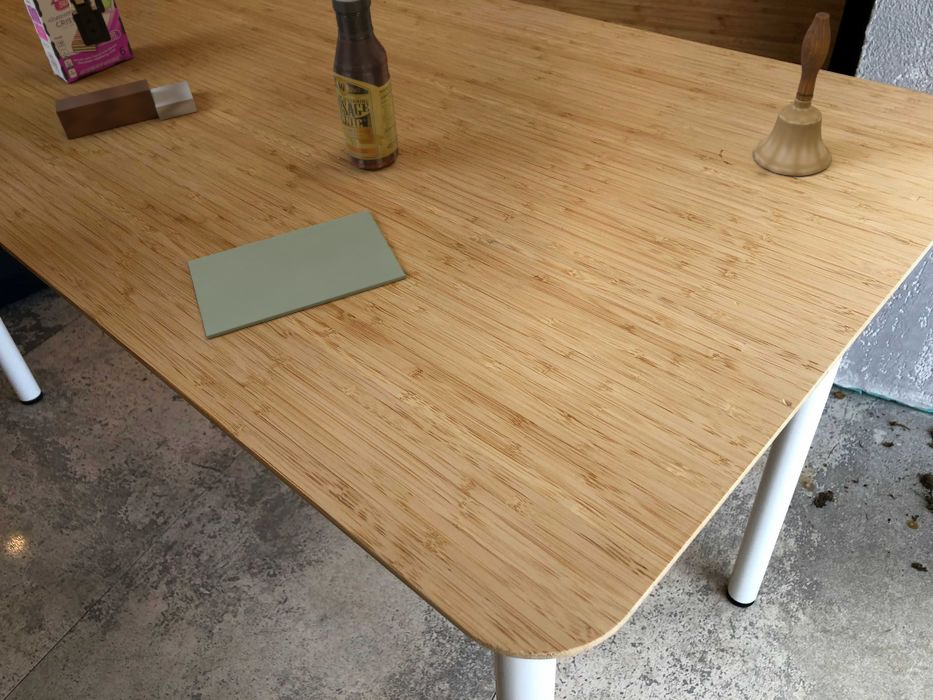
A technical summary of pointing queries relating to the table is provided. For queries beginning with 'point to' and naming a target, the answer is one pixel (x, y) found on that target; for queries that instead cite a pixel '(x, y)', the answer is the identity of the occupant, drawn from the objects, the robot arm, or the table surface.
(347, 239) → the mat
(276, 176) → the table surface
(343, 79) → the sauce bottle
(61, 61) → the candy bar box
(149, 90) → the dark brown bar
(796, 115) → the hand bell
